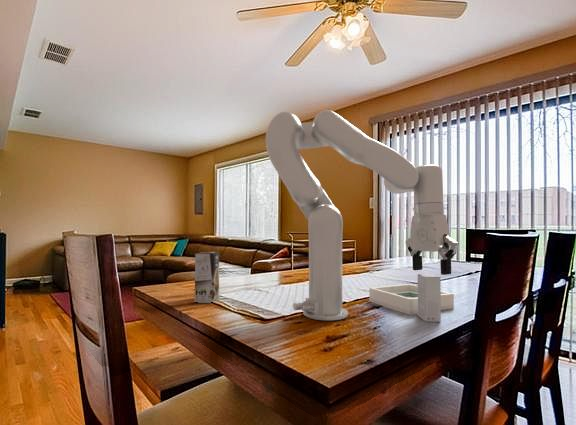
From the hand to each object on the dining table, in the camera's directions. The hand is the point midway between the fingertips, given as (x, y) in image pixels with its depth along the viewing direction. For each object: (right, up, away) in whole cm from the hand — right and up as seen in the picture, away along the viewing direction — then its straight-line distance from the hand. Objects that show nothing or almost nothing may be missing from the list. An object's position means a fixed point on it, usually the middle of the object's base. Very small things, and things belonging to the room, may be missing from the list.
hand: (431, 272), depth 93 cm
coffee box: (-67, -13, +21) cm, 71 cm away
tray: (0, -13, +15) cm, 20 cm away
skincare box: (-1, -13, 0) cm, 13 cm away
